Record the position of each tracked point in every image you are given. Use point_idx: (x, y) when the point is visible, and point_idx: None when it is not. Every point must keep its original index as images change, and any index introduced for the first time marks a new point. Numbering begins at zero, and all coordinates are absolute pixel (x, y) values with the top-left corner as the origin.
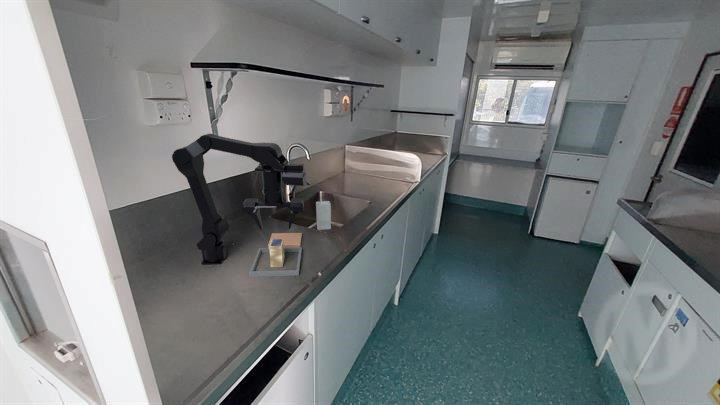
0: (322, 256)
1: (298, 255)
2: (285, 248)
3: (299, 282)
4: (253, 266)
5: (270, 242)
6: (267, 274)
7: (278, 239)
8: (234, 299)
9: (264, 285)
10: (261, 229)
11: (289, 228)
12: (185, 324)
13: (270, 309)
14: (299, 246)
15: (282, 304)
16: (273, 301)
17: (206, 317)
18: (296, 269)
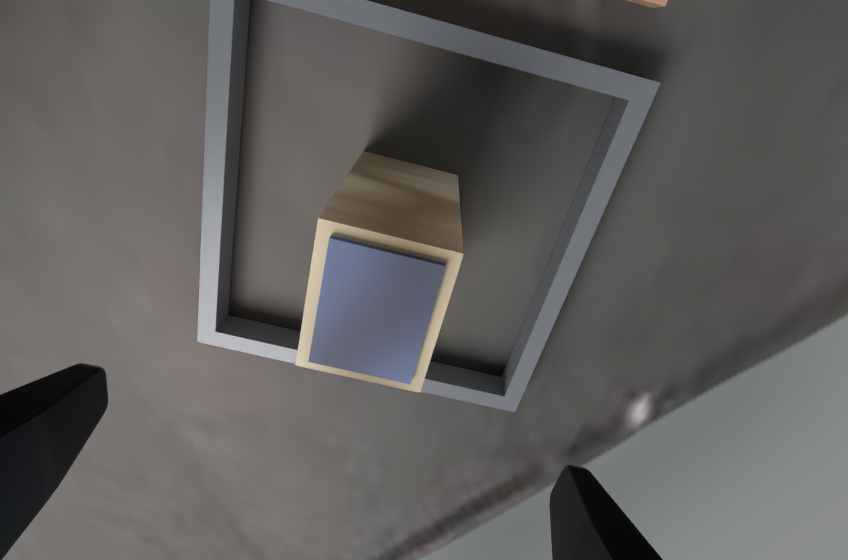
0: (769, 232)
1: (576, 227)
2: (491, 58)
3: (498, 444)
4: (214, 278)
5: None
6: None
7: (400, 262)
8: (174, 463)
9: (308, 416)
10: (103, 403)
11: (558, 514)
12: (28, 525)
13: (340, 547)
14: (651, 6)
15: (391, 539)
16: (353, 516)
17: (92, 517)
18: (507, 390)
